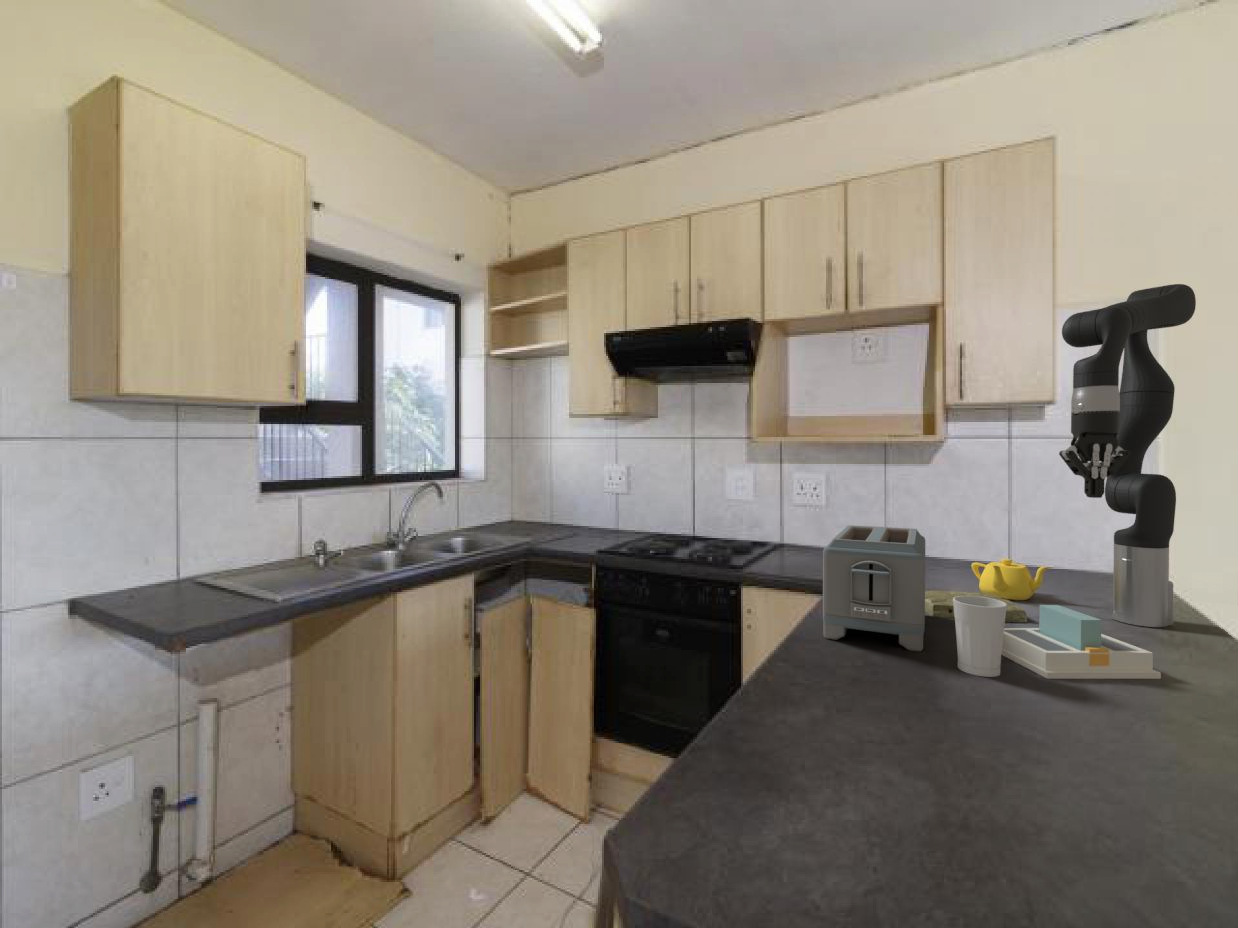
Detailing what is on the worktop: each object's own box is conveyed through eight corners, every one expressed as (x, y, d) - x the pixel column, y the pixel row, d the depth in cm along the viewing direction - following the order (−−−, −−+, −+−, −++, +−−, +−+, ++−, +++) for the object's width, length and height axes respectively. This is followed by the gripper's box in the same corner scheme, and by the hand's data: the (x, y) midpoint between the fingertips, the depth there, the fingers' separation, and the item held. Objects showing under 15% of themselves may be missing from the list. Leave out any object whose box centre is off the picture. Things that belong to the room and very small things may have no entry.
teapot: (994, 602, 148) (994, 563, 148) (967, 590, 161) (967, 554, 161) (1051, 603, 147) (1051, 564, 146) (1019, 591, 160) (1019, 555, 160)
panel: (1057, 646, 110) (1058, 604, 110) (1100, 666, 100) (1101, 619, 100) (1039, 646, 110) (1039, 604, 110) (1080, 665, 100) (1081, 619, 100)
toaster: (818, 644, 115) (819, 541, 115) (840, 605, 145) (841, 524, 144) (924, 659, 107) (925, 548, 106) (924, 615, 136) (925, 528, 136)
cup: (998, 664, 104) (999, 597, 103) (1012, 681, 96) (1013, 608, 96) (948, 659, 106) (948, 594, 106) (957, 675, 99) (958, 604, 99)
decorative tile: (907, 600, 151) (907, 587, 151) (992, 604, 148) (992, 590, 148) (933, 620, 133) (933, 605, 133) (1030, 625, 129) (1030, 609, 129)
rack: (1084, 646, 113) (1084, 623, 113) (1160, 678, 97) (1161, 651, 97) (986, 646, 113) (986, 623, 113) (1047, 678, 97) (1047, 651, 97)
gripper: (1112, 411, 119) (1111, 496, 119) (1047, 411, 119) (1047, 496, 119) (1145, 409, 112) (1144, 498, 112) (1076, 409, 112) (1075, 498, 112)
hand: (1094, 497), depth 116 cm, fingers closed
